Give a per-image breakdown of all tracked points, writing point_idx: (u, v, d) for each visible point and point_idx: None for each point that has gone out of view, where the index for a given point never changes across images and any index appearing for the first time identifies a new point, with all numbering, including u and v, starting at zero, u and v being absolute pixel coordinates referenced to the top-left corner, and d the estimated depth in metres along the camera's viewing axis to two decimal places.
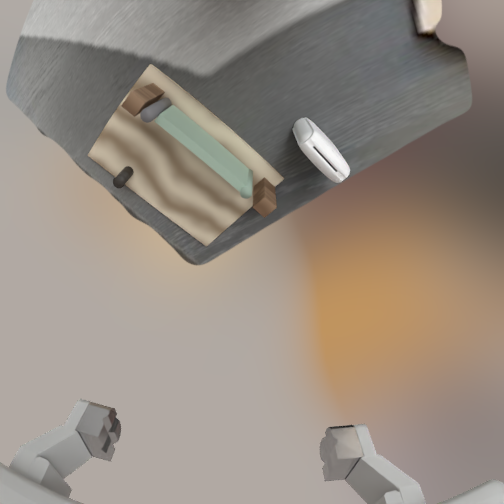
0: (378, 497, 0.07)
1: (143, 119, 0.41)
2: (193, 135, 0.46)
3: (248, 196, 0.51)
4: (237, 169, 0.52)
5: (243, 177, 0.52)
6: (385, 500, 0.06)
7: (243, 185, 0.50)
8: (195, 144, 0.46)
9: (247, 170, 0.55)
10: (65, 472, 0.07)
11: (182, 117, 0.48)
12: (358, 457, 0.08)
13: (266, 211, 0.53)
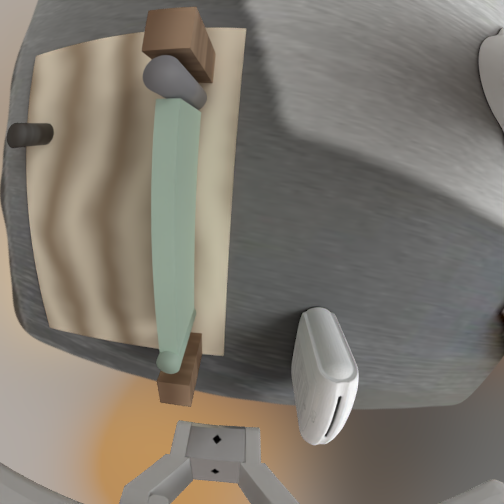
0: None
1: (147, 72, 0.14)
2: (180, 196, 0.20)
3: (167, 370, 0.23)
4: (185, 309, 0.25)
5: (183, 330, 0.25)
6: None
7: (175, 350, 0.23)
8: (170, 218, 0.19)
9: (192, 312, 0.29)
10: None
11: (193, 145, 0.23)
12: (239, 462, 0.08)
13: (171, 399, 0.25)
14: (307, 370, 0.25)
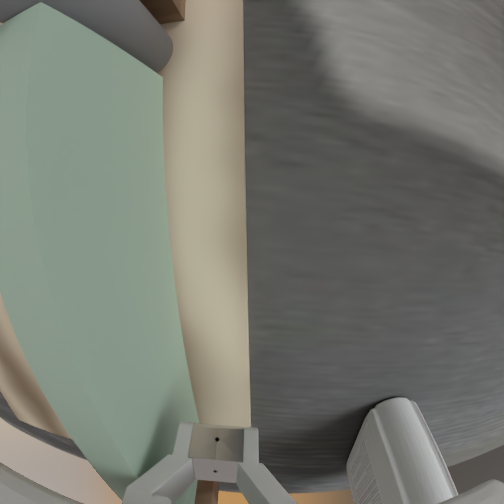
0: None
1: None
2: (106, 310, 0.07)
3: None
4: None
5: (185, 492, 0.11)
6: None
7: None
8: (82, 394, 0.05)
9: None
10: None
11: (142, 151, 0.09)
12: (237, 462, 0.08)
13: None
14: None
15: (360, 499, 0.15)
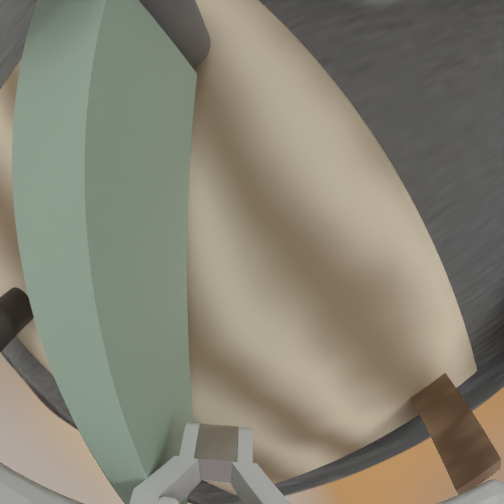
0: None
1: None
2: (137, 311, 0.07)
3: None
4: None
5: None
6: None
7: None
8: (109, 398, 0.05)
9: None
10: None
11: (176, 147, 0.09)
12: (231, 461, 0.08)
13: (475, 484, 0.09)
14: None
15: None
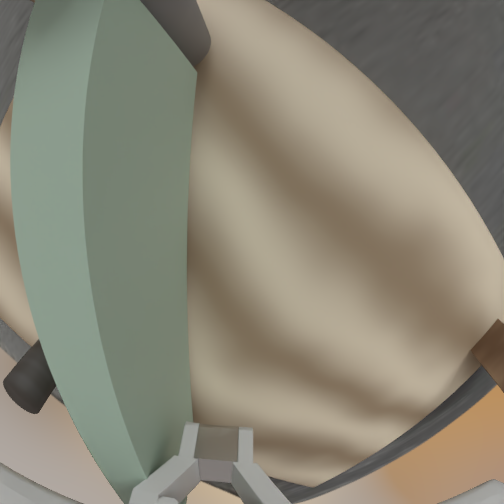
0: None
1: None
2: (135, 310, 0.06)
3: None
4: None
5: None
6: None
7: None
8: (108, 398, 0.05)
9: None
10: None
11: (176, 146, 0.09)
12: (231, 461, 0.08)
13: None
14: None
15: None
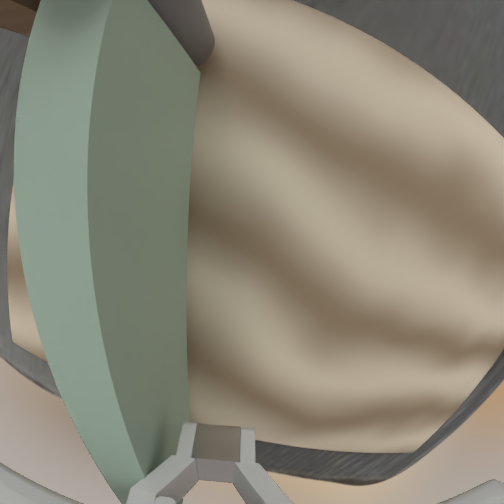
0: None
1: None
2: (136, 309, 0.06)
3: None
4: None
5: None
6: None
7: None
8: (108, 397, 0.05)
9: None
10: None
11: (178, 146, 0.09)
12: (234, 461, 0.08)
13: None
14: None
15: None
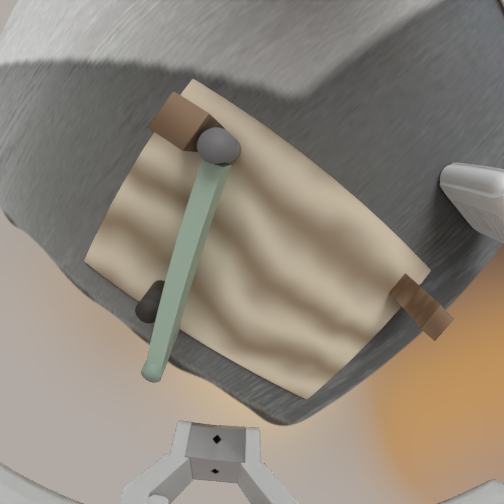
0: None
1: (202, 139, 0.18)
2: (199, 245, 0.24)
3: (149, 378, 0.26)
4: (174, 331, 0.29)
5: (169, 348, 0.28)
6: None
7: (160, 364, 0.26)
8: (187, 264, 0.23)
9: (177, 331, 0.32)
10: None
11: (218, 197, 0.27)
12: (239, 462, 0.08)
13: (439, 329, 0.25)
14: (485, 209, 0.23)
15: (487, 228, 0.26)
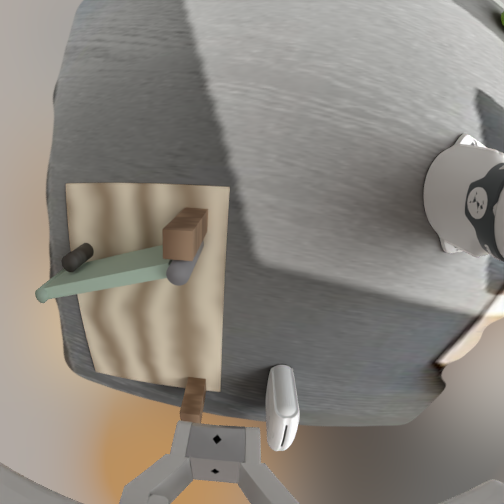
0: None
1: (175, 266, 0.29)
2: None
3: (37, 296, 0.32)
4: None
5: None
6: None
7: (49, 297, 0.33)
8: (111, 286, 0.32)
9: None
10: None
11: None
12: (239, 462, 0.08)
13: None
14: (270, 407, 0.40)
15: (266, 411, 0.44)
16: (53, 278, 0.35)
